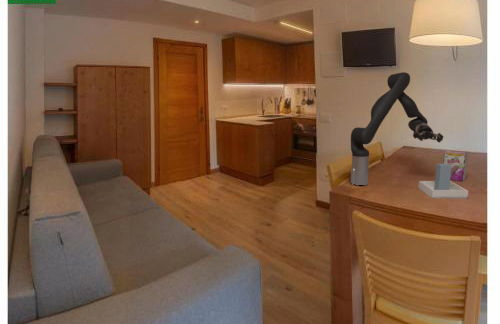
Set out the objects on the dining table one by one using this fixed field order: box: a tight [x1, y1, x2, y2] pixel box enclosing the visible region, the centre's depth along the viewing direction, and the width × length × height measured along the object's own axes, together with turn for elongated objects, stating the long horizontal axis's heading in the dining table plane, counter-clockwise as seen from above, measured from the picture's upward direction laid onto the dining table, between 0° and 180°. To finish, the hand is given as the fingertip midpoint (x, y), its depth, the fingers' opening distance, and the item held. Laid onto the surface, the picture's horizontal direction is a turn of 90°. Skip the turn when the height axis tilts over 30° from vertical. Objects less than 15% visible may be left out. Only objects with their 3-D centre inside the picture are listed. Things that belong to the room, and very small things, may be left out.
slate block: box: [434, 163, 451, 190], centre depth 160 cm, size 5×5×14 cm
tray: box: [418, 180, 469, 200], centre depth 161 cm, size 16×18×4 cm
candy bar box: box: [442, 150, 469, 182], centre depth 184 cm, size 11×5×16 cm, turn 41°
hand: (430, 140), depth 167 cm, fingers open, 8 cm apart
